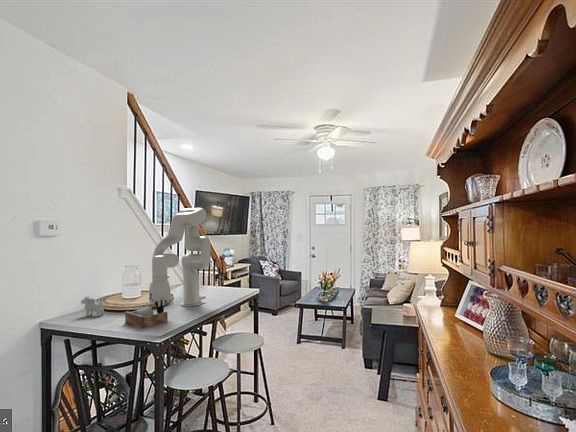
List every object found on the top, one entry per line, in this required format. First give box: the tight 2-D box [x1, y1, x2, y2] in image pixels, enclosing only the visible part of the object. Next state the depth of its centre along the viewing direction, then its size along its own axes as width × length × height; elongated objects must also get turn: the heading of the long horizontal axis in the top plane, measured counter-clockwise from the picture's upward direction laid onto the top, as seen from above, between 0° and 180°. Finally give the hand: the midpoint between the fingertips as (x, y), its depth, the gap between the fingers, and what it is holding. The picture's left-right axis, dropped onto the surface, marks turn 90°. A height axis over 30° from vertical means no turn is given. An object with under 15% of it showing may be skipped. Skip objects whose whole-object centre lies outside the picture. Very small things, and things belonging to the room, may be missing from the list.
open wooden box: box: [124, 310, 168, 329], centre depth 172 cm, size 14×16×6 cm
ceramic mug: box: [132, 306, 155, 317], centre depth 170 cm, size 11×8×8 cm
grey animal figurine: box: [80, 295, 105, 318], centre depth 189 cm, size 5×13×11 cm, turn 83°
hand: (160, 313), depth 178 cm, fingers closed
